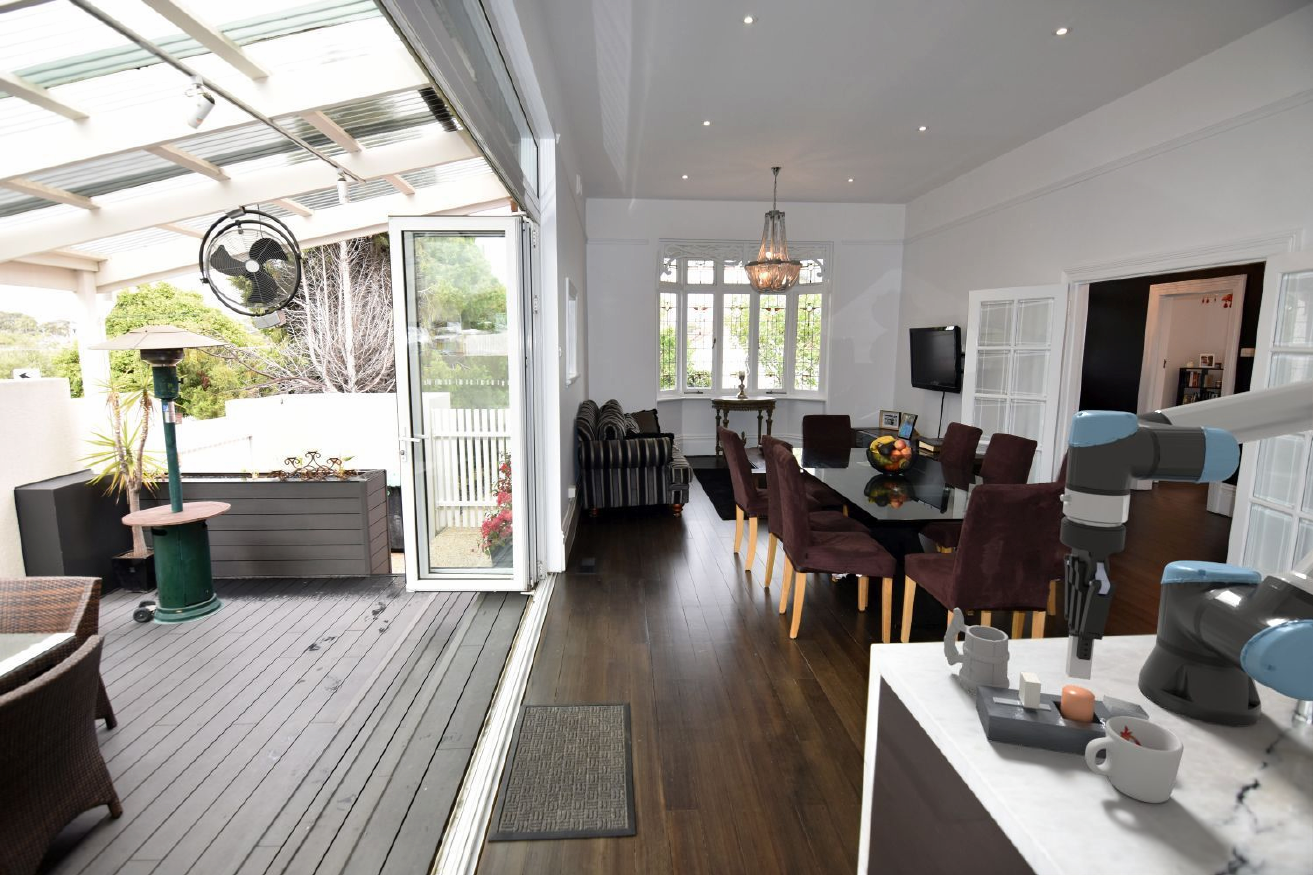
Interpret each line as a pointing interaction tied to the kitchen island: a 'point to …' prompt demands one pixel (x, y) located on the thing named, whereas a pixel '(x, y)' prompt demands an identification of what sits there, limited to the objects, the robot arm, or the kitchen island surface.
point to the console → (1037, 722)
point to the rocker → (1124, 708)
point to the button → (1077, 704)
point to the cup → (1138, 758)
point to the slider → (1029, 690)
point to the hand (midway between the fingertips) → (1077, 675)
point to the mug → (978, 654)
